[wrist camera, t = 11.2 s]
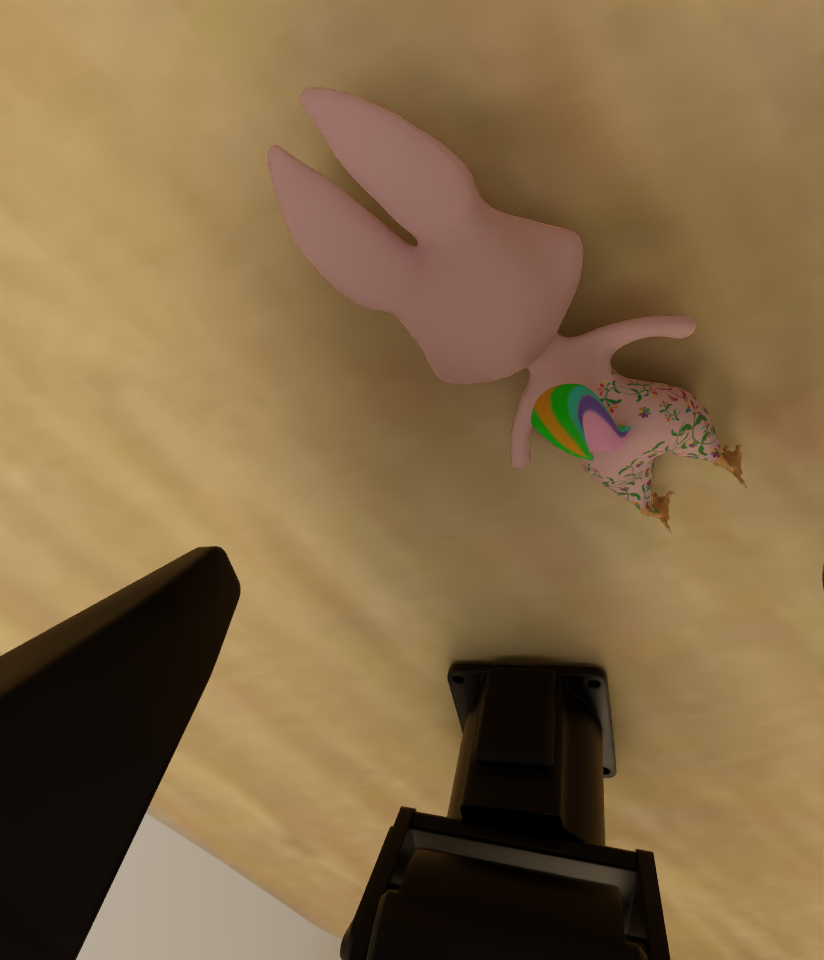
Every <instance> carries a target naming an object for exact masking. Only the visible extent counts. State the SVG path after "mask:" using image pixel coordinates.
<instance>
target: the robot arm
mask: <svg viewBox="0 0 824 960" xmlns="http://www.w3.org/2000/svg"><path fill="white" fill-rule="evenodd" d="M822 581H823V588H824V566H823V574H822ZM239 597H240V583H239V580H238V578H237V576H236V574H235V571H234V569H233V567H232V565H231V563H230V561H229V558H228V556H227V554H226V552H225V551H224V550H223V549H222V548H220V547H218V546H211V547H198V548H196V549H194V550H192V551H190V552H188V553H186V554H185V555H183V556H181V557H179V558H177V559H175V560H174V561H172V562H170V563H168V564H166V565H165V566H163V567H161V568H159V569H157V570H156V571H154V572H152V573H150V574H148V575H147V576H145V577H143V578H141V579H139V580H137V581H136V582H134V583H132V584H130V585H128V586H127V587H125V588H123V589H121V590H119V591H118V592H116V593H114V594H112V595H110V596H108V597H107V598H105V599H103V600H101V601H99V602H98V603H96V604H94V605H92V606H90V607H89V608H87V609H85V610H83V611H81V612H80V613H78V614H76V615H74V616H72V617H70V618H69V619H67V620H65V621H63V622H61V623H60V624H58V625H56V626H54V627H52V628H51V629H49V630H47V631H45V632H43V633H42V634H40V635H38V636H36V637H34V638H32V639H31V640H29V641H27V642H25V643H23V644H22V645H20V646H18V647H16V648H14V649H13V650H11V651H9V652H7V653H5V654H3V655H2V656H0V960H76V958H77V956H78V954H79V952H80V950H81V948H82V946H83V943H84V941H85V939H86V937H87V935H88V933H89V931H90V929H91V926H92V924H93V922H94V920H95V918H96V916H97V914H98V912H99V910H100V908H101V906H102V904H103V901H104V899H105V897H106V895H107V893H108V891H109V889H110V887H111V884H112V882H113V880H114V878H115V876H116V874H117V872H118V870H119V868H120V866H121V864H122V861H123V859H124V857H125V855H126V853H127V851H128V849H129V847H130V845H131V843H132V841H133V838H134V836H135V834H136V832H137V830H138V828H139V826H140V824H141V822H142V819H143V817H144V815H145V813H146V811H147V809H148V807H149V805H150V803H151V801H152V798H153V796H154V794H155V792H156V790H157V788H158V786H159V784H160V782H161V780H162V777H163V775H164V773H165V771H166V769H167V767H168V765H169V763H170V761H171V759H172V756H173V754H174V752H175V750H176V748H177V746H178V744H179V742H180V740H181V738H182V735H183V733H184V731H185V729H186V727H187V725H188V723H189V721H190V719H191V717H192V714H193V712H194V710H195V708H196V706H197V704H198V702H199V700H200V698H201V696H202V693H203V691H204V689H205V687H206V685H207V683H208V680H209V678H210V676H211V674H212V671H213V669H214V666H215V663H216V661H217V658H218V655H219V653H220V650H221V647H222V644H223V642H224V639H225V636H226V633H227V631H228V628H229V625H230V622H231V620H232V617H233V614H234V611H235V608H236V606H237V603H238V600H239ZM458 675H459V676H458ZM447 677H448V683H449V686H450V690H451V693H452V697H453V700H454V704H455V707H456V711H457V714H458V718H459V721H460V725H461V728H462V732H463V737H462V742H461V747H460V753H459V758H458V763H457V768H456V773H455V779H454V784H453V789H452V794H451V799H450V804H449V810H448V815H447V817H443V816H437V815H432V814H426V813H421V812H416V809H414V808H409V807H403V806H401V808H400V810H399V813H398V816H397V818H396V821H395V823H394V826H391V827H390V829H389V831H388V834H387V836H386V839H385V841H384V844H383V846H382V849H381V851H380V854H379V856H378V859H377V862H376V864H375V867H374V869H373V872H372V874H371V877H370V879H369V882H368V884H367V887H366V889H365V892H364V894H363V897H362V900H361V902H360V905H359V907H358V910H357V912H356V915H355V917H354V919H353V921H352V922H351V924H350V926H349V928H348V929H347V931H346V933H345V935H344V937H343V940H342V943H341V948H340V957H341V959H342V960H670V954H669V948H668V942H667V935H666V929H665V923H664V917H663V910H662V904H661V898H660V892H659V885H658V879H657V873H656V866H655V860H654V854H653V852H651V851H645V850H640V849H636V850H635V852H634V851H629V850H623V849H618V848H612V847H607V846H605V821H604V786H603V778H611V777H614V776H615V775H616V759H615V750H614V740H613V731H612V721H611V711H610V702H609V692H608V683H607V676H606V673H605V672H604V671H603V670H601V669H599V668H595V667H565V666H524V665H483V664H454V665H452V666H451V667H450V668H449V672H448V676H447ZM592 679H594V680H592Z"/></svg>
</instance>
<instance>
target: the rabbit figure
mask: <svg viewBox="0 0 824 960" xmlns="http://www.w3.org/2000/svg"><path fill="white" fill-rule="evenodd" d="M300 101H301V103H302V105H303V107H304V109H305V110H306V111H307V113H308V114H309V116H310V117H311V119H312V120H313V122H314V123H315V124H316V126H317V128H318V129H319V131H320V132H321V134H322V135H323V137H324V139H325V140H326V142H327V144H328V145H329V147H330V148H331V150H332V152H333V153H334V155H335V156H336V158H337V159H338V160H339V162H340V163H341V164H342V166H343V167H344V168H345V170H346V171H347V172H348V173H349V174H350V175H351V177H352V178H353V179H354V180H355V181H356V182H357V183H358V184H359V185H360V186H361V187H362V188H363V189H364V190H365V191H366V192H367V193H369V194H370V195H371V196H372V197H373V198H374V199H375V200H376V201H377V202H378V203H379V204H380V205H381V206H382V207H383V208H384V209H385V211H386V212H387V213H388V214H389V215H390V216H391V217H392V218H393V219H394V220H395V221H396V222H398V223H399V224H400V225H401V226H402V227H403V228H404V229H406V230H407V231H408V232H409V233H411V234H412V235H413V236H414V237H415V238H416V239H417V241H418V245H416V246H413V245H410V244H408V243H406V242H405V241H403V240H402V239H401V238H400V237H399V236H397V235H396V234H395V233H394V232H393V231H392V230H390V229H389V228H388V227H387V226H386V225H385V224H383V223H382V222H381V221H380V220H379V219H378V218H376V217H375V216H374V215H373V214H372V213H370V212H369V211H368V210H367V209H365V208H364V207H363V206H362V205H360V204H359V203H358V202H356V201H355V200H354V199H353V198H352V197H350V196H349V195H348V194H347V193H345V192H344V191H343V190H342V189H340V188H339V187H338V186H336V185H335V184H334V183H332V182H331V181H330V180H328V179H327V178H326V177H325V176H323V175H322V174H320V173H318V172H317V171H315V170H314V169H312V168H310V167H309V166H307V165H306V164H304V163H302V162H301V161H299V160H298V159H296V158H295V157H293V156H292V155H291V154H289V153H288V152H287V151H285V150H284V149H282V148H281V147H279V146H277V145H272V146H271V147H270V148H269V151H268V165H269V170H270V175H271V180H272V184H273V188H274V191H275V194H276V198H277V201H278V204H279V207H280V210H281V213H282V215H283V218H284V220H285V223H286V225H287V227H288V229H289V231H290V233H291V235H292V237H293V239H294V241H295V242H296V244H297V246H298V247H299V249H300V250H301V251H302V253H303V254H304V255H305V257H306V258H307V259H308V260H309V261H310V263H311V264H312V265H313V266H314V267H315V268H316V269H317V270H318V272H319V273H320V274H321V275H322V276H323V277H324V278H325V279H326V280H327V281H328V282H329V283H330V284H331V285H332V286H333V287H334V288H335V289H337V290H338V291H339V292H340V293H342V294H343V295H344V296H346V297H347V298H348V299H350V300H352V301H353V302H355V303H357V304H359V305H361V306H363V307H366V308H370V309H375V310H380V311H385V312H388V313H390V314H393V315H394V316H396V317H397V318H398V319H399V320H400V321H401V322H402V324H403V325H404V326H405V328H406V329H407V330H408V332H409V333H410V335H411V336H412V337H413V339H414V340H415V341H416V342H417V343H418V345H419V346H420V347H421V348H422V350H423V352H424V354H425V356H426V358H427V360H428V362H429V364H430V366H431V368H432V370H433V372H434V373H435V375H436V376H437V377H438V378H439V379H441V380H442V381H444V382H447V383H451V384H475V383H486V382H492V381H497V380H500V379H504V378H506V377H509V376H511V375H513V374H515V373H517V372H519V371H521V370H522V369H524V368H527V369H528V370H529V372H530V378H529V382H528V384H527V387H526V389H525V391H524V393H523V395H522V397H521V399H520V402H519V405H518V408H517V411H516V415H515V418H514V422H513V426H512V433H511V462H512V465H513V466H514V467H515V468H516V469H523V468H525V467H527V466H528V464H529V462H530V451H529V444H528V441H529V435H530V432H531V430H532V428H533V427H534V428H535V429H536V430H537V431H538V432H539V433H540V434H541V435H542V436H543V437H544V438H546V439H547V440H548V441H549V442H551V443H552V444H553V445H555V446H556V447H558V448H559V449H561V450H563V451H565V452H567V453H569V454H571V455H573V456H575V457H578V458H580V460H581V463H582V465H583V467H584V469H585V471H586V472H587V474H588V475H589V476H590V477H591V478H593V479H594V480H596V481H597V482H599V483H601V484H603V485H605V486H606V487H608V488H609V489H611V490H612V491H614V492H615V493H617V494H618V495H620V496H621V497H623V498H624V499H626V500H628V501H630V502H631V503H633V504H634V505H635V506H637V508H638V509H639V511H640V512H641V513H642V514H643V515H645V516H654V517H657V518H659V519H661V521H662V522H663V523H664V525H665V527H666V530H668V531H669V532H670V533H672V532H671V530H670V527H669V525H668V523H667V521H668V520H669V518H670V517H669V514H668V505H669V501H670V500H669V496H670V495H672V494H673V493H675V492H673V491H670V492H668V493H667V494H666V495H665V496H663V497H662V498H661V497H659V496H657V494H656V493H653V497H654V499H653V505H652V499H651V484H652V475H653V458H655V457H657V456H659V455H663V454H666V453H671V454H677V455H681V456H687V457H692V458H697V459H701V460H706V461H711V462H714V463H713V465H714V466H716V465H718V466H720V467H724V468H726V469H727V470H728V471H729V472H731V473H732V474H733V475H734V476H735V477H736V478H737V479H738V481H739V482H740V483H741V484H742V485H744V486H745V487H746V488H747V486H746V484H745V481H744V480H743V479H742V478H741V476H740V475H741V474H742V470H741V458H742V452H741V451H740V449H744V448H743V447H742V446H741V445H737V446H736V450H735V451H733V452H731V451H730V450H727V449H728V446H724V448H723V451H724V452H723V453H722V450H721V448H720V444H719V440H718V438H717V435H716V432H715V429H714V426H713V423H712V420H711V418H710V415H709V413H708V411H707V410H706V408H705V407H704V406H703V405H702V403H701V402H700V401H699V400H698V399H696V398H695V397H694V396H693V395H691V394H690V393H689V392H687V391H685V390H683V389H681V388H678V387H675V386H672V385H668V384H663V383H656V382H649V381H642V380H635V379H629V378H625V377H623V376H621V375H619V374H618V373H617V372H616V371H615V370H614V369H613V368H612V366H611V364H610V360H611V357H612V355H613V354H614V353H615V352H616V351H617V350H618V349H619V348H620V347H622V346H624V345H626V344H628V343H630V342H633V341H635V340H638V339H642V338H646V337H653V336H663V337H670V338H685V337H687V336H690V335H691V334H692V333H693V332H694V330H695V328H696V321H695V320H694V319H693V318H692V317H691V316H687V315H668V316H650V317H641V318H635V319H630V320H626V321H622V322H618V323H614V324H610V325H606V326H603V327H600V328H597V329H595V330H592V331H590V332H588V333H585V334H582V335H579V336H575V337H564V336H561V335H560V334H558V333H557V331H558V329H559V327H560V325H561V323H562V321H563V319H564V317H565V314H566V312H567V310H568V308H569V306H570V304H571V302H572V300H573V297H574V295H575V293H576V290H577V288H578V285H579V282H580V277H581V272H582V265H583V245H582V241H581V239H580V237H579V236H578V234H577V233H575V232H574V231H572V230H569V229H566V228H562V227H557V226H553V225H549V224H545V223H541V222H538V221H534V220H531V219H527V218H523V217H518V216H514V215H510V214H507V213H503V212H501V211H498V210H496V209H494V208H492V207H491V206H489V205H488V204H487V203H486V202H485V201H484V200H483V199H482V197H481V195H480V193H479V191H478V189H477V186H476V184H475V181H474V179H473V177H472V175H471V173H470V171H469V169H468V168H467V166H466V165H465V164H464V162H463V161H462V160H461V159H460V158H459V157H458V156H457V155H456V154H454V153H453V152H452V151H451V150H450V149H448V148H447V147H446V146H445V145H444V144H443V143H441V142H440V141H439V140H437V139H436V138H434V137H433V136H431V135H429V134H428V133H426V132H425V131H423V130H421V129H419V128H418V127H416V126H414V125H413V124H411V123H410V122H408V121H407V120H405V119H404V118H402V117H401V116H399V115H397V114H395V113H394V112H392V111H390V110H388V109H386V108H384V107H382V106H380V105H378V104H375V103H373V102H371V101H368V100H365V99H363V98H360V97H357V96H354V95H351V94H348V93H344V92H341V91H337V90H334V89H329V88H322V87H310V88H306V89H304V90H303V91H302V92H301V94H300Z"/></svg>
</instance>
